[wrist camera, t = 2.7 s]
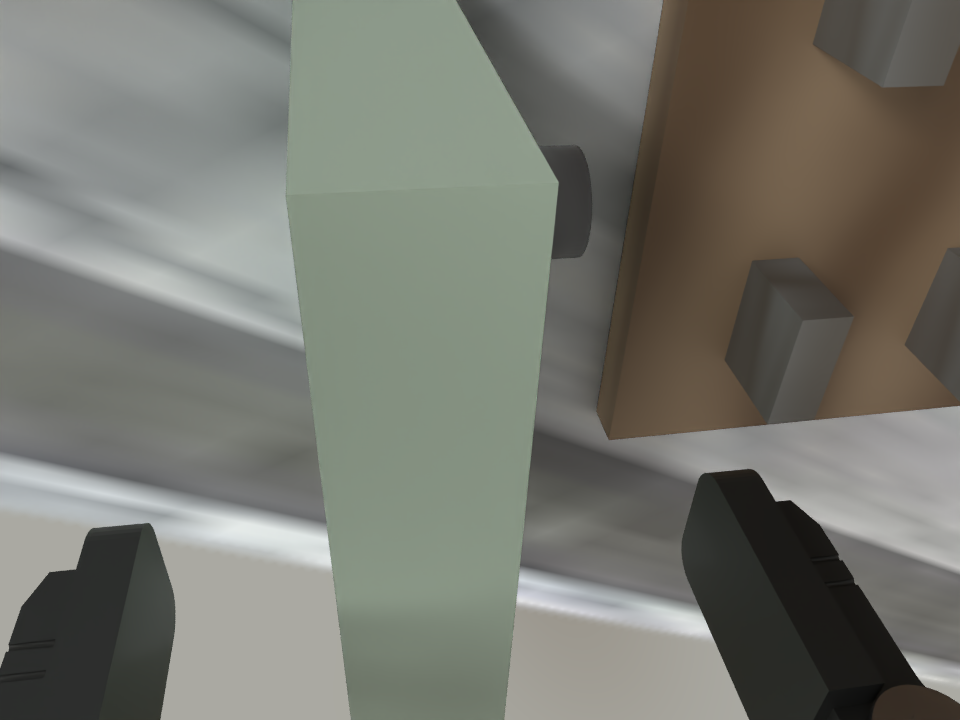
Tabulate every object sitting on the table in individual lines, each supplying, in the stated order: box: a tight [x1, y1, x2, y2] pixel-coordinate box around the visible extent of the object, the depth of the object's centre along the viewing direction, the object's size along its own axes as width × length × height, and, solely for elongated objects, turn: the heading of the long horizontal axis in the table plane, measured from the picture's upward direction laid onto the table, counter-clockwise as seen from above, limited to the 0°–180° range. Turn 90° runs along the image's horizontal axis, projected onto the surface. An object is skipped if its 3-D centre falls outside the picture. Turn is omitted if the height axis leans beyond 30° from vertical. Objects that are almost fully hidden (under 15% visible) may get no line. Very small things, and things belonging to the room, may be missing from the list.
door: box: [286, 0, 592, 720], centre depth 15 cm, size 3×12×10 cm, turn 179°
